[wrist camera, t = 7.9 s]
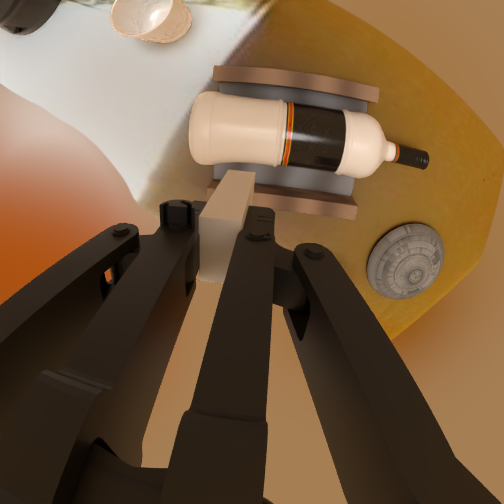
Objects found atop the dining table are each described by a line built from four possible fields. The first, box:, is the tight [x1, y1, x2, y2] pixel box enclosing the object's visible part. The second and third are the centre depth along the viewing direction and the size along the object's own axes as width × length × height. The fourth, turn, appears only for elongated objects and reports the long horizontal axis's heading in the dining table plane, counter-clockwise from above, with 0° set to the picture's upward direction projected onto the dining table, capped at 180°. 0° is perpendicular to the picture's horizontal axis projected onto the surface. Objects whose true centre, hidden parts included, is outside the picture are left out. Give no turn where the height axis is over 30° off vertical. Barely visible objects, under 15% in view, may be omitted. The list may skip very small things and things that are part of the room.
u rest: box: [207, 66, 380, 220], centre depth 36 cm, size 20×18×5 cm
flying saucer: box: [367, 224, 444, 299], centre depth 44 cm, size 15×15×6 cm
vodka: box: [189, 91, 429, 178], centre depth 33 cm, size 9×9×30 cm
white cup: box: [110, 0, 192, 43], centre depth 26 cm, size 8×8×10 cm
